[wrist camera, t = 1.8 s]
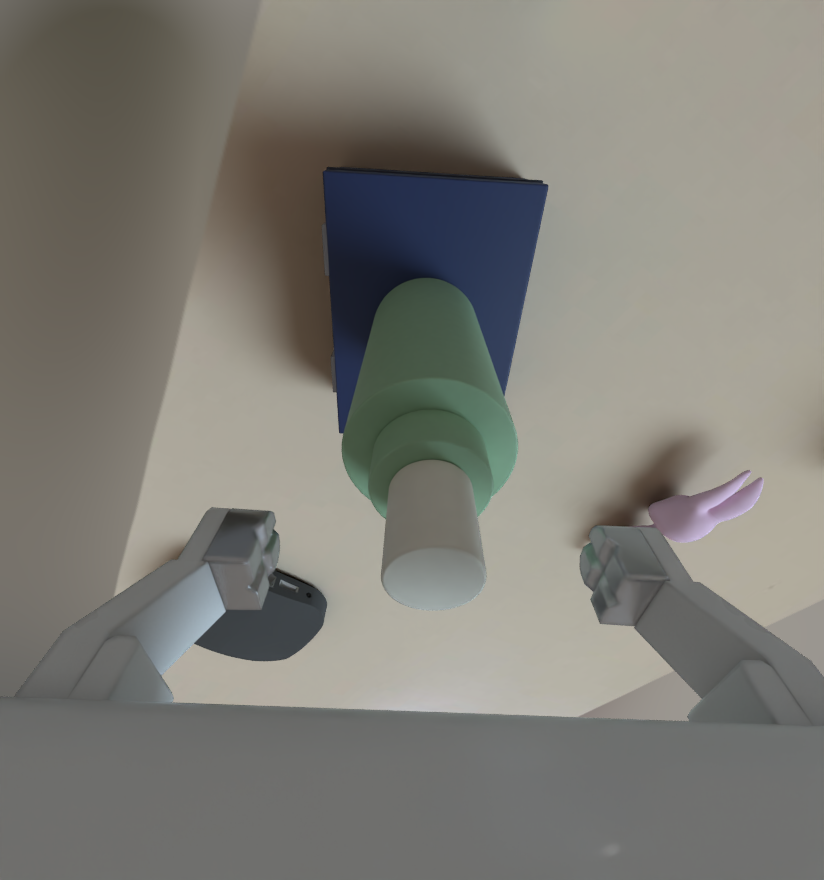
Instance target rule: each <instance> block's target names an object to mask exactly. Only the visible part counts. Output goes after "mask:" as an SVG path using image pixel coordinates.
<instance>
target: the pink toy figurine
mask: <svg viewBox="0 0 824 880" xmlns="http://www.w3.org/2000/svg"><path fill="white" fill-rule="evenodd" d="M750 474H751V471H750V470H747V471H744V472H742V473H741V474H739V475H738V476H736V477H735V478H734V479H732V480H731V481H729V482H727V483H725V484H723V485H721V486H719V487H717V488H714V489H712V490H709V491H705V492H702V493H699V494H696V495H693V496H686V495H676V496H672V497H669V498H667V499H664V500H661V501H658V502H655V503H653V504H651V505H650V506H649V509H648V512H649V516H650V518H651V519H652V521H653V522H654V524H653V525H649V526H627V527H651V528H657V529H658V530H659V531H660V532H661V533H662V534H663V535H664V536H666V537H667V538H669V539H671V540H673V541H676V542H691V541H695V540H698V539H700V538H702V537H704V536H705V535H707V534H708V533H709V532H710V531H711V530H712V529H713V528H714V527H715V525H716V524H717V523H719V522H721V521H726V520H730V519H733V518H735V517H737V516H739V515H741V514H743V513H745V512H746V511H748V510H749V509H750V508H751V507H753V506H754V504H755V503H756V502H757V500H758V498H759V496H760V494H761V491H762V487H763V481H764V480H763V478H758V479H756V480H755V481H754V482H752V483H751V484H749V485H748V486H746V487H744V488H743V489H741V490H740V491H738V492H736V491H737V490H738V489H739V488H740V487H741V485H742V484H743V483H744V481H745V480H746V479H747V477H748V476H749V475H750ZM735 492H736V493H735ZM734 493H735V494H734Z"/></svg>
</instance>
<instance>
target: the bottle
mask: <svg viewBox="0 0 824 880" xmlns="http://www.w3.org/2000/svg"><path fill="white" fill-rule="evenodd" d="M517 453H518V439H517V433H516V430H515V427H514V424H513V421H512V418H511V415H510V412H509V409H508V406H507V404H506V401H505V398H504V395H503V392H502V389H501V386H500V383H499V380H498V378H497V375H496V372H495V369H494V366H493V363H492V360H491V357H490V354H489V352H488V349H487V346H486V343H485V340H484V337H483V334H482V331H481V329H480V326H479V323H478V320H477V317H476V314H475V311H474V308H473V306H472V305H471V303H470V301H469V300H468V298H467V297H466V296H465V295H464V294H463V293H462V292H461V291H460V290H459V289H458V288H457V287H455V286H453V285H452V284H450V283H448V282H445V281H443V280H439V279H434V278H418V279H413V280H409V281H407V282H404V283H402V284H400V285H398V286H397V287H395V288H394V289H393V290H391V291H390V292H389V293H388V294H387V295H386V296H385V297H384V299H383V300H382V302H381V303H380V305H379V307H378V309H377V311H376V314H375V317H374V321H373V325H372V328H371V332H370V336H369V340H368V343H367V347H366V351H365V355H364V358H363V362H362V366H361V370H360V373H359V377H358V381H357V385H356V388H355V392H354V396H353V400H352V403H351V407H350V411H349V415H348V418H347V422H346V426H345V430H344V434H343V439H342V457H343V462H344V465H345V469H346V471H347V473H348V475H349V477H350V479H351V480H352V482H353V483H354V485H355V486H356V487H357V488H358V489H359V490H360V492H361V493H362V494H364V495H365V496H366V497H367V498H368V499H370V500H371V501H372V503H373V505H374V507H375V508H376V510H377V511H378V512H379V513H380V515H381V516H383V517H384V518H385V519H386V525H385V536H384V547H383V559H382V570H381V581H382V584H383V587H384V589H385V591H386V592H387V593H388V594H389V595H390V596H391V597H392V598H393V599H394V600H396V601H397V602H399V603H401V604H403V605H405V606H408V607H411V608H415V609H421V610H446V609H451V608H455V607H458V606H461V605H463V604H466V603H468V602H469V601H471V600H472V599H474V598H475V597H476V596H477V595H479V593H480V592H481V591H482V589H483V588H484V585H485V582H486V577H487V576H486V568H485V561H484V555H483V549H482V543H481V536H480V530H479V524H478V518H477V517H478V516H479V515H480V514H481V513H482V512H483V511H484V510H485V508H486V507H487V505H488V503H489V501H490V499H491V497H492V496H493V495H494V494H496V493H497V492H498V491H499V490H500V488H501V487H502V486H503V485H504V484H505V482H506V481H507V480H508V478H509V476H510V474H511V472H512V471H513V468H514V465H515V462H516V459H517Z"/></svg>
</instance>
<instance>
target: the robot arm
mask: <svg viewBox="0 0 824 880" xmlns="http://www.w3.org/2000/svg"><path fill="white" fill-rule="evenodd" d="M275 523H276V519H275V515H274V512H272V511H262V510H248V509H234V508H232V509H228V508H214V507H212V508H210V509H209V510H208V511H207V512H206V513H205V515H204V516H203V518H202V520H201V521H200V523H199V525H198V526H197V528H196V530H195V531H194V533H193V535H192V536H191V538H190V540H189V541H188V543H187V545H186V546H185V548H184V550H183V551H182V553H181V555H180V556H179V558H178V560H170V561H168V562H167V563H165V564H164V565H162V566H161V567H159V568H158V569H156V570H155V571H153V572H152V573H150V574H149V575H147V576H145V577H144V578H142V579H141V580H139V581H138V582H136V583H135V584H133V585H132V586H130V587H129V588H127V589H126V590H124V591H123V592H121V593H120V594H118V595H117V596H115V597H114V598H112V599H111V600H109V601H108V602H106V603H105V604H103V605H102V606H100V607H99V608H97V609H96V610H94V611H93V612H91V613H90V614H88V615H86V616H85V617H83V618H82V619H81V620H79V621H78V622H76V623H74V624H73V625H71V626H70V627H68V628H67V629H65V630H64V631H63V632H62V633H61V634H60V636H59V637H58V639H57V640H56V641H55V642H54V644H53V645H52V647H51V648H50V649H49V650H48V652H47V653H46V655H45V656H44V657H43V658H42V660H41V661H40V663H39V664H38V665H37V667H36V668H35V669H34V670H33V672H32V673H31V674H30V676H29V677H28V678H27V680H26V681H25V683H24V684H23V685H22V686H21V688H20V689H19V690H18V692H17V693H16V694H15V696H14V697H3V696H0V880H824V677H823V676H822V674H821V673H820V672H819V670H818V669H817V668H816V667H815V665H814V664H813V663H812V662H811V661H810V660H809V659H808V658H806V657H805V656H803V655H802V654H800V653H799V652H798V651H796V650H795V649H793V648H792V647H791V646H789V645H788V644H786V643H785V642H784V641H782V640H781V639H779V638H778V637H776V636H775V635H773V634H772V633H771V632H769V631H768V630H767V629H765V628H764V627H762V626H761V625H759V624H758V623H757V622H755V621H754V620H752V619H751V618H750V617H748V616H747V615H745V614H744V613H742V612H741V611H740V610H738V609H737V608H735V607H734V606H733V605H731V604H730V603H728V602H727V601H726V600H724V599H723V598H721V597H720V596H718V595H717V594H716V593H714V592H713V591H711V590H710V589H709V588H707V587H706V586H704V585H703V584H701V583H700V582H693V580H692V579H691V577H690V576H689V574H688V573H687V571H686V570H685V568H684V567H683V565H682V563H681V562H680V560H679V559H678V557H677V556H676V554H675V553H674V551H673V550H672V548H671V547H670V545H669V544H668V542H667V541H666V539H665V537H664V536H663V534H662V533H661V532H660V531H659V530H658V529H657V528H651V527H625V526H595V527H593V528H592V529H591V531H590V534H589V538H590V540H591V543H589V544H588V545H586V546H585V547H583V550H582V552H581V555H580V572H581V576H582V579H583V581H584V584H585V585H586V586H587V587H589V588H590V589H591V590H592V591H593V594H592V597H591V599H590V600H591V602H592V605H593V607H594V610H595V612H596V615H597V617H598V620H599V622H600V624H610V625H625V626H635V627H634V628H635V629H636V630H637V631H638V633H639V634H640V635H641V636H642V637H643V638H644V639H645V640H646V641H647V642H648V643H649V644H650V645H651V646H652V647H653V648H654V649H655V650H656V651H657V652H658V653H659V654H660V656H661V657H662V658H663V659H664V660H665V661H666V662H667V663H668V664H669V665H670V666H671V667H672V668H673V669H674V670H675V671H676V672H677V673H678V674H679V675H680V676H681V677H682V679H683V680H684V681H685V682H686V683H687V684H688V685H689V686H690V687H691V688H692V689H693V690H694V691H695V692H696V693H697V694H698V695H699V696H700V697H701V698H702V700H701V701H700V702H699V703H698V704H697V705H696V706H695V707H694V708H693V709H692V710H691V711H690V712H689V714H688V716H687V717H688V719H689V721H665V720H637V719H610V718H583V717H557V716H529V715H502V714H475V713H448V712H420V711H392V710H365V709H337V708H309V707H281V706H254V705H226V704H198V703H172V702H173V699H174V697H173V694H172V692H171V690H170V689H169V687H168V686H167V684H166V683H165V681H164V679H163V678H162V676H161V675H162V674H163V673H164V672H165V671H166V670H167V669H168V668H169V667H170V666H171V665H172V664H173V663H174V662H175V661H176V660H177V659H178V658H179V657H180V656H182V655H183V654H184V653H185V652H186V651H187V650H188V649H189V648H190V647H191V646H192V645H193V644H194V643H195V642H196V641H197V640H198V639H199V638H200V637H201V636H202V635H203V634H204V633H205V632H206V631H207V630H208V629H209V628H210V627H211V626H212V625H213V624H214V623H215V622H216V621H217V620H218V619H219V618H220V617H221V616H222V615H223V614H224V613H225V612H226V610H261V609H262V606H263V603H264V601H265V598H266V595H267V592H268V589H269V581H268V576H269V575H270V574H271V573H273V572H274V571H275V569H276V566H277V563H278V558H279V552H280V539H279V534H278V533H277V532H276V531H275V530H274V526H275Z"/></svg>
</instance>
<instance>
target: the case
mask: <svg viewBox="0 0 824 880" xmlns="http://www.w3.org/2000/svg"><path fill="white" fill-rule="evenodd" d="M323 184H324V200H325V216H326V222H325V223H324V224H323V225H322V237H323V252H324V266H325V275H327V276H329V279H330V295H331V311H332V327H333V343H334V351H333V353H332V355H331V369H332V384H333V392H337V407H338V422H339V433H344V430H345V426H346V422H347V418H348V415H349V411H350V407H351V403H352V400H353V396H354V392H355V388H356V385H357V381H358V377H359V373H360V370H361V366H362V362H363V358H364V355H365V351H366V347H367V343H368V340H369V336H370V332H371V328H372V325H373V321H374V317H375V314H376V311H377V309H378V307H379V305H380V303H381V302H382V300H383V299H384V297H385V296H386V295H387V294H388V293H389V292H390V291H391V290H393V289H394V288H395V287H397V286H398V285H400V284H402V283H404V282H407V281H409V280H413V279H418V278H434V279H439V280H443V281H445V282H448V283H450V284H452V285H453V286H455V287H457V288H458V289H459V290H460V291H461V292H462V293H463V294H464V295H465V296H466V297H467V298H468V300H469V301H470V303H471V305H472V306H473V308H474V311H475V314H476V317H477V320H478V323H479V326H480V329H481V331H482V334H483V337H484V340H485V343H486V346H487V349H488V352H489V354H490V357H491V360H492V363H493V366H494V369H495V372H496V375H497V378H498V380H499V383H500V386H501V389H502V392H503V395H504V396H505V391H506V386H507V381H508V376H509V372H510V367H511V362H512V357H513V353H514V348H515V343H516V338H517V334H518V329H519V324H520V319H521V315H522V310H523V305H524V300H525V296H526V291H527V286H528V281H529V277H530V272H531V267H532V262H533V257H534V253H535V248H536V243H537V238H538V234H539V229H540V224H541V219H542V215H543V210H544V205H545V200H546V196H547V191H548V185H547V184H543V181H542V180H528V179H524V178H508V177H493V176H477V175H461V174H445V173H429V172H414V171H398V170H382V169H366V168H350V167H339V168H338V167H327V170H325V171H323Z"/></svg>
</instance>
